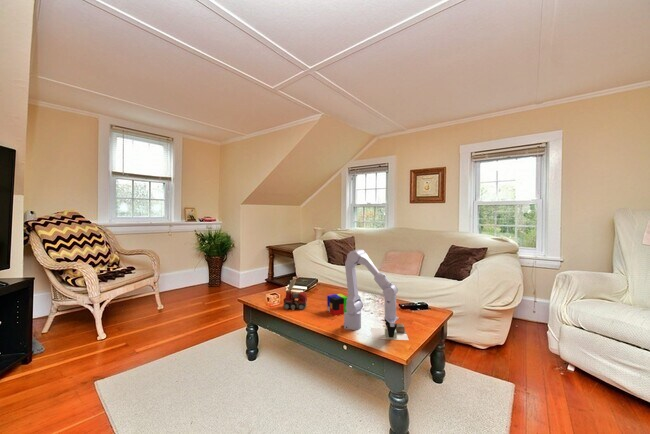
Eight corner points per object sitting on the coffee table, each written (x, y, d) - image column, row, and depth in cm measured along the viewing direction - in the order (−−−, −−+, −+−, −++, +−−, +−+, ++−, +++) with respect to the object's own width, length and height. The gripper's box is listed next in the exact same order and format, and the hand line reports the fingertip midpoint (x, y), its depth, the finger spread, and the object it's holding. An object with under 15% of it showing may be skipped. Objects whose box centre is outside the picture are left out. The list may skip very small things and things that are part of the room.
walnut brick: (393, 332, 144) (393, 326, 144) (392, 328, 148) (392, 323, 148) (404, 332, 143) (404, 327, 143) (403, 329, 147) (403, 323, 147)
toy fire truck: (305, 310, 181) (305, 283, 181) (282, 309, 183) (282, 283, 182) (308, 304, 192) (308, 279, 192) (287, 303, 194) (286, 279, 194)
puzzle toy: (327, 310, 180) (327, 295, 179) (340, 308, 184) (340, 293, 184) (334, 315, 171) (334, 300, 170) (348, 313, 175) (348, 297, 175)
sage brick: (385, 337, 138) (385, 331, 138) (384, 334, 142) (384, 328, 142) (396, 338, 137) (396, 332, 137) (395, 334, 141) (395, 328, 141)
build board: (372, 340, 137) (372, 338, 137) (370, 329, 150) (370, 327, 150) (408, 342, 135) (408, 339, 135) (404, 330, 148) (404, 328, 148)
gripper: (400, 314, 132) (400, 342, 132) (396, 304, 146) (396, 329, 146) (385, 313, 133) (386, 341, 133) (383, 303, 147) (383, 328, 147)
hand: (390, 335), depth 140 cm, fingers closed on sage brick, 4 cm apart
